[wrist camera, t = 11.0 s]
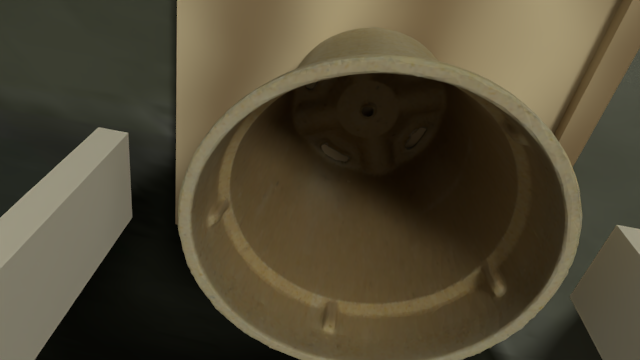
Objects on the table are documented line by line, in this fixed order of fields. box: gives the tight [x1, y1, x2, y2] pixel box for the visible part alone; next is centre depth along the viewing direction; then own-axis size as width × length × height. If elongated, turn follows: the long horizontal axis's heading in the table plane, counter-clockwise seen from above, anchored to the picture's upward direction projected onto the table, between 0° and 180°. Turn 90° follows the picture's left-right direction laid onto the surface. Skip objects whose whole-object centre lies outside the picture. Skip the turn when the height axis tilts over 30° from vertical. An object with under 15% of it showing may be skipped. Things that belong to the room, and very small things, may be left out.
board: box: [175, 0, 640, 224], centre depth 19 cm, size 16×16×2 cm
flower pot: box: [178, 27, 582, 360], centre depth 15 cm, size 9×9×9 cm
